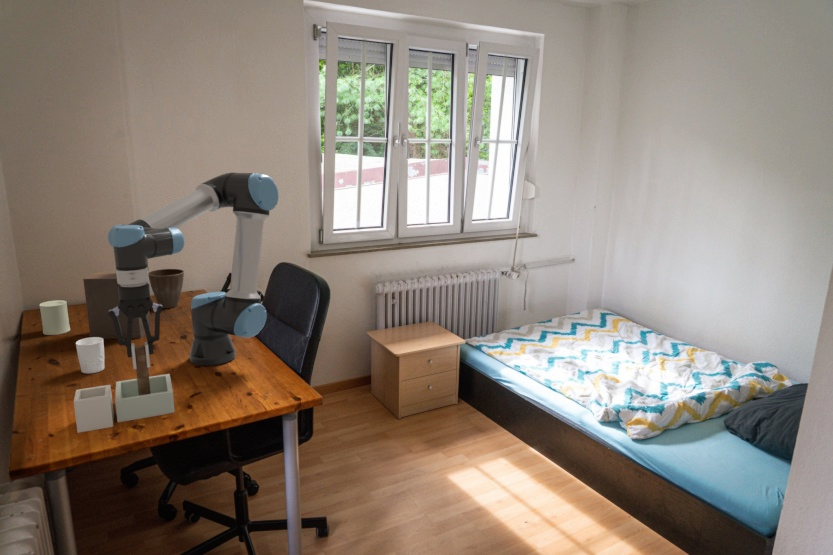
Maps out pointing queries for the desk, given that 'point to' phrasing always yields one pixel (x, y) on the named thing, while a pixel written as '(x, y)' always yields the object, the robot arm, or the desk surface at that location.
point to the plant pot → (167, 286)
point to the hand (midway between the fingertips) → (141, 366)
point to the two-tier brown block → (107, 307)
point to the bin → (144, 399)
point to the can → (54, 317)
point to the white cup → (91, 354)
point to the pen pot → (93, 408)
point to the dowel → (142, 371)
